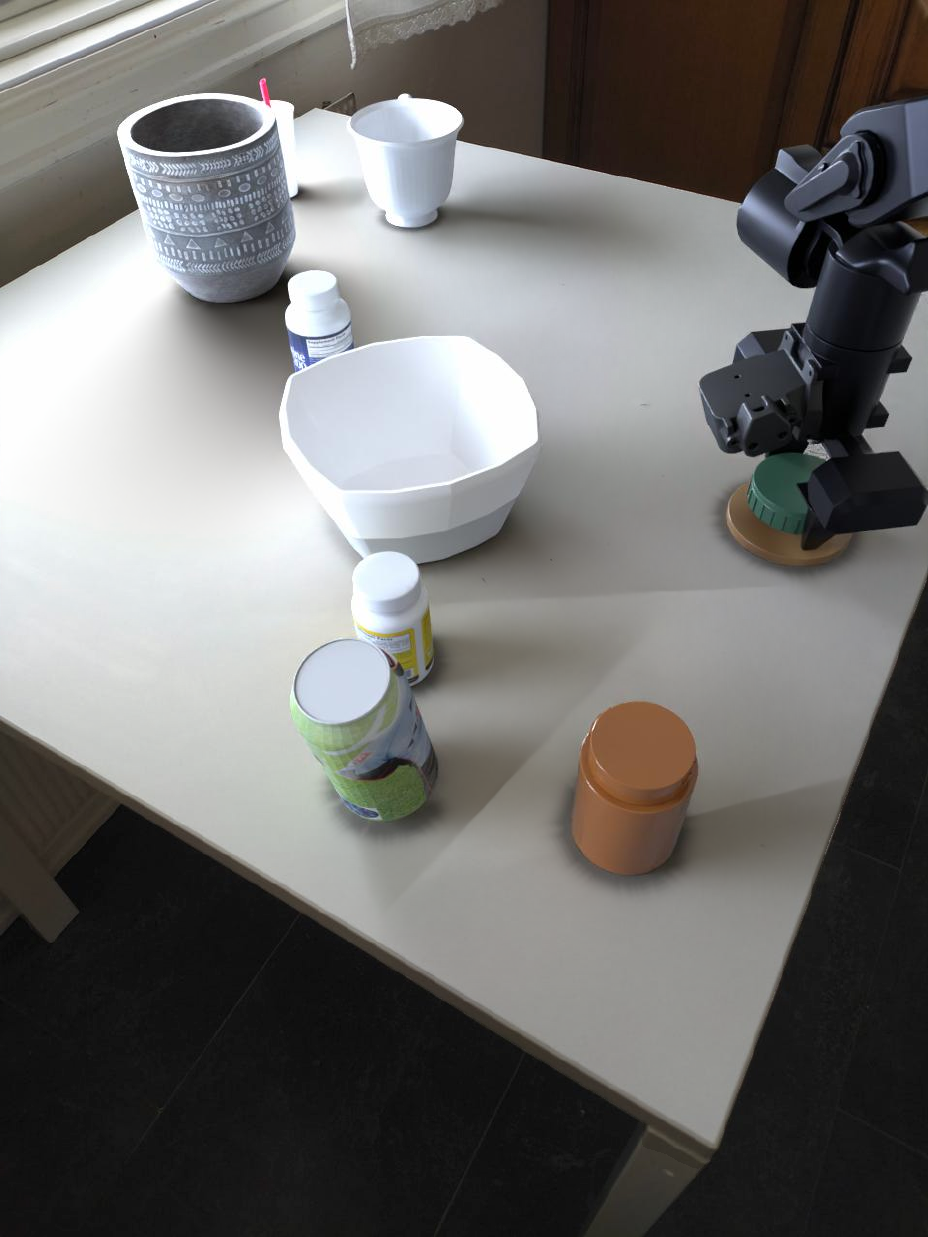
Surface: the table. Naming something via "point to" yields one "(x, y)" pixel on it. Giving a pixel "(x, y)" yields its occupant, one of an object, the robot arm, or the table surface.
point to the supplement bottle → (394, 611)
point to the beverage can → (364, 728)
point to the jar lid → (781, 490)
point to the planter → (212, 193)
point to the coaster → (776, 537)
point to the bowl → (413, 443)
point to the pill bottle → (317, 318)
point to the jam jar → (633, 787)
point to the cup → (285, 136)
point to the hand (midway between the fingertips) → (790, 515)
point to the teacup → (407, 156)
